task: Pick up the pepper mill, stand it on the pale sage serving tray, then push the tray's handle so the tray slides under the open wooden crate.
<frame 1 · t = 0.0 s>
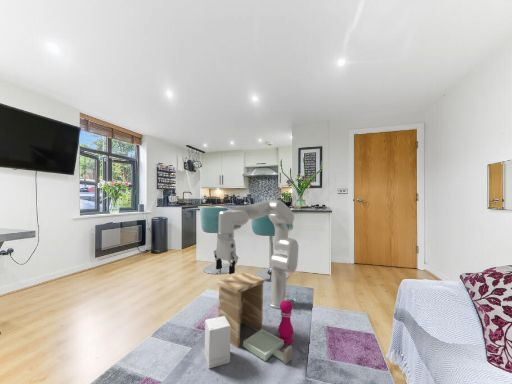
hand: (225, 271, 110), 31 cm above the table, fingers open, 9 cm apart
supplement box: (216, 359, 94), on the table
open wooden crate: (239, 332, 112), on the table
pepper mill: (285, 340, 107), on the table
tray: (269, 344, 99), point 3 cm above the table, slide at 11.5 cm
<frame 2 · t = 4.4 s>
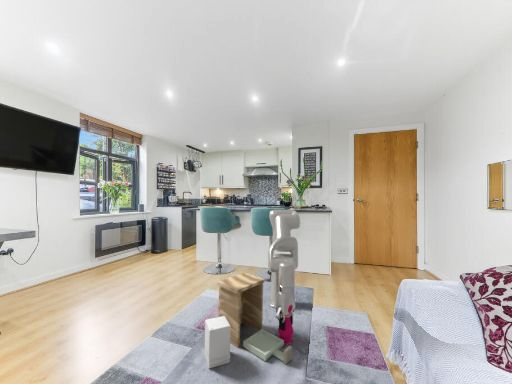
hand: (285, 326, 107), 7 cm above the table, fingers closed on pepper mill, 5 cm apart
pepper mill: (285, 340, 107), on the table, touching gripper
everything else where it was.
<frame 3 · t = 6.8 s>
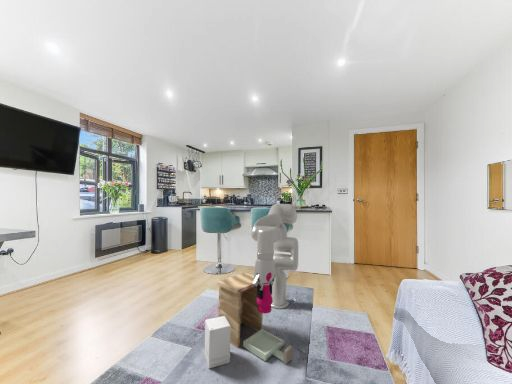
hand: (264, 295, 102), 23 cm above the table, fingers closed on pepper mill, 5 cm apart
pepper mill: (264, 310, 102), point 16 cm above the table, touching gripper
everything else where it was.
when the fingers open (9 cm above the table, at t = 9.3 s): pepper mill stays where it is, resting on tray.
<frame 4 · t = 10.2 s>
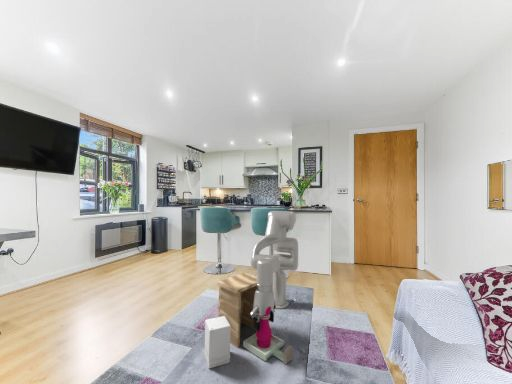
hand: (263, 325, 102), 10 cm above the table, fingers open, 9 cm apart
pepper mill: (263, 344, 102), point 1 cm above the table, touching tray
tray: (269, 344, 99), point 3 cm above the table, slide at 11.5 cm, touching pepper mill
everything else where it was.
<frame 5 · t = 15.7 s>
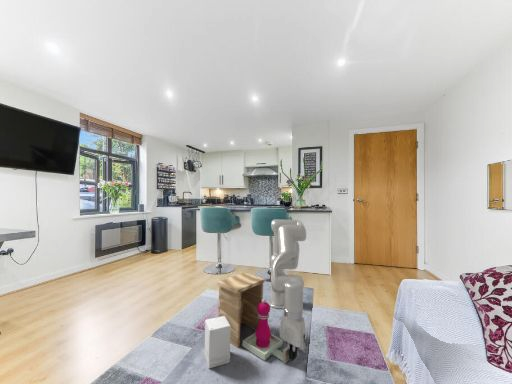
hand: (292, 358, 92), 3 cm above the table, fingers closed
tray: (269, 343, 100), point 3 cm above the table, slide at 11.0 cm, touching gripper, pepper mill
everything else where it was.
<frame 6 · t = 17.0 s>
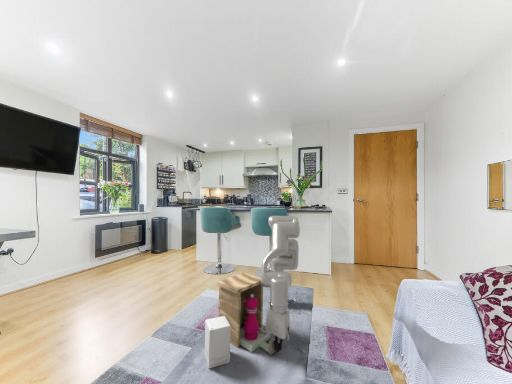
hand: (278, 349, 97), 3 cm above the table, fingers closed
pepper mill: (251, 336, 107), point 1 cm above the table, touching tray
tray: (256, 336, 105), point 3 cm above the table, slide at 3.6 cm, touching gripper, pepper mill
everything else where it was.
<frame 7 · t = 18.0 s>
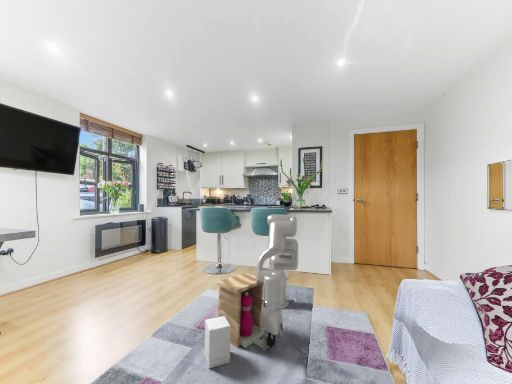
hand: (271, 345, 99), 3 cm above the table, fingers closed
pepper mill: (245, 333, 110), point 1 cm above the table, touching tray
tray: (250, 333, 107), point 3 cm above the table, slide at -0.1 cm, touching gripper, pepper mill
everything else where it was.
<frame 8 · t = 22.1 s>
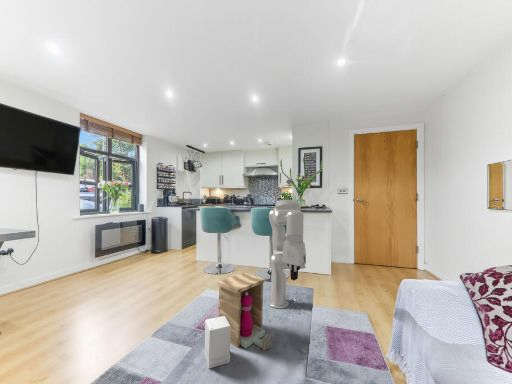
hand: (294, 279, 101), 31 cm above the table, fingers closed
tray: (250, 333, 107), point 3 cm above the table, slide at 0.0 cm, touching pepper mill
everything else where it was.
at the end: tray slide at 0.0 cm; pepper mill inside the target area (0.9 cm from its centre), point 1.1 cm above the table; pepper mill tilted 0° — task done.
